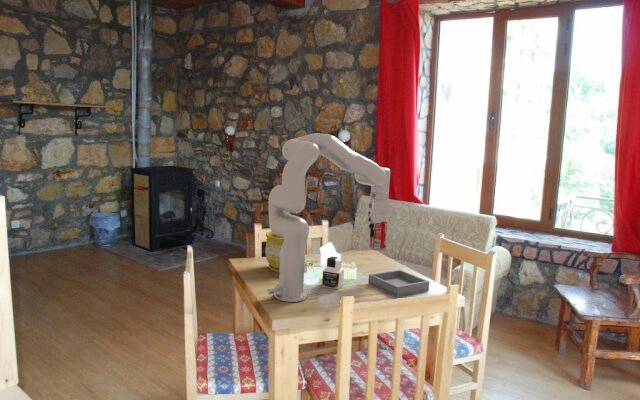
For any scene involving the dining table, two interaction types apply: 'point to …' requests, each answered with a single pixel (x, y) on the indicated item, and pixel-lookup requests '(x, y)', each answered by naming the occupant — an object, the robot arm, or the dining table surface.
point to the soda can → (379, 237)
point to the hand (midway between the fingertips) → (376, 237)
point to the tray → (398, 282)
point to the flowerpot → (273, 250)
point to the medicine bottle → (333, 273)
